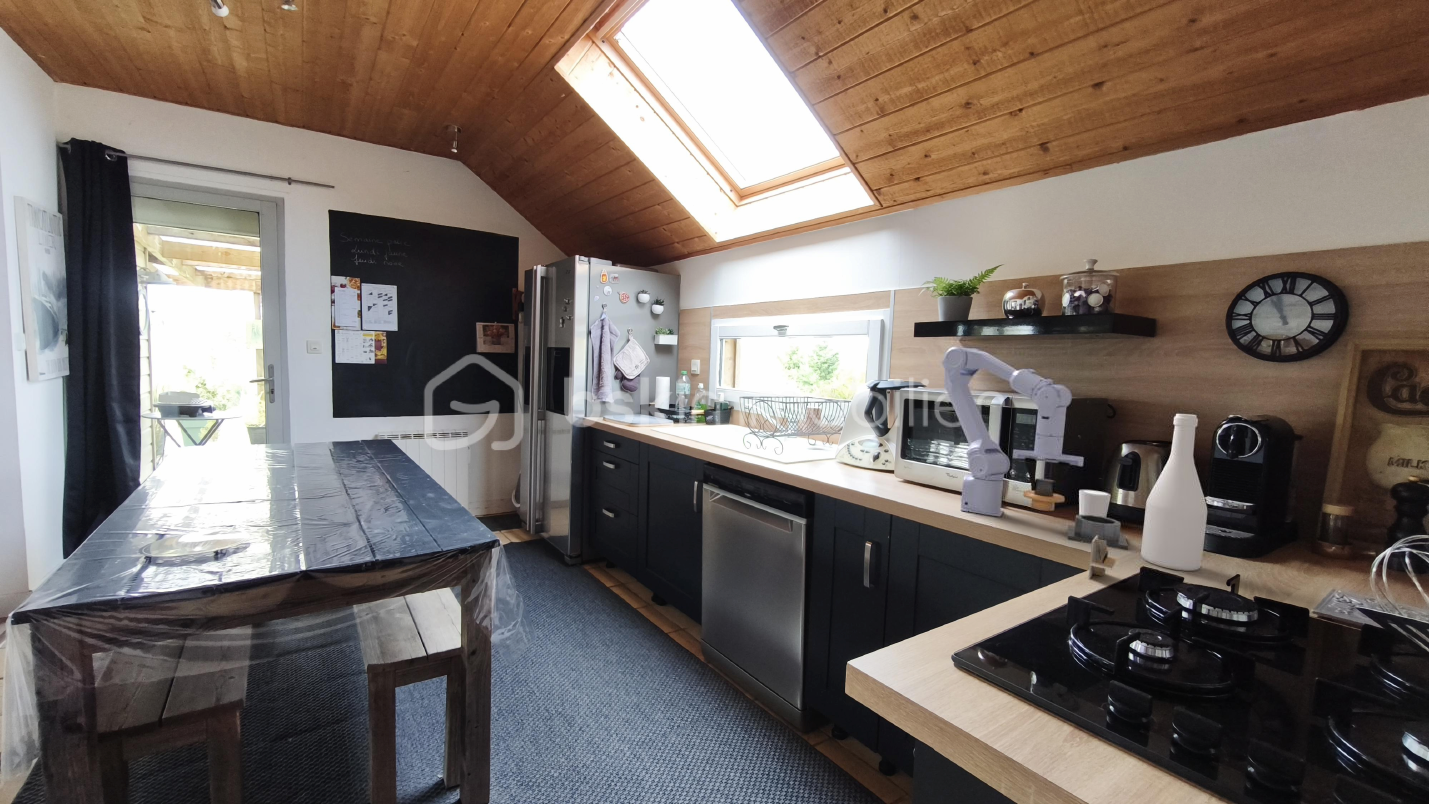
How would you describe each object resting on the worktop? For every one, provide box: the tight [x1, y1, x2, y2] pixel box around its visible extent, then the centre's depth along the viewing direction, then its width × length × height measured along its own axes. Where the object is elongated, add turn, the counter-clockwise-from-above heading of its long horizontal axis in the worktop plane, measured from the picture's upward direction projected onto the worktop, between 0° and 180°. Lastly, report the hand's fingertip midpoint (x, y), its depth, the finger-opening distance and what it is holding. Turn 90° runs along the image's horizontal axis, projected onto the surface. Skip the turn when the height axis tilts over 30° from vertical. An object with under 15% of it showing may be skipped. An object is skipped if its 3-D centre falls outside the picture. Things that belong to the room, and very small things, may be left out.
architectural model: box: [1087, 535, 1118, 580], centre depth 106 cm, size 3×7×7 cm, turn 139°
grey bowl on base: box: [1067, 514, 1129, 551], centre depth 132 cm, size 11×11×4 cm
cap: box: [1022, 478, 1065, 512], centre depth 140 cm, size 9×9×7 cm
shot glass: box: [1078, 489, 1111, 518], centre depth 150 cm, size 7×7×7 cm
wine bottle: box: [1140, 413, 1208, 572], centre depth 116 cm, size 10×10×30 cm
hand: (1043, 491), depth 140 cm, fingers closed on cap, 4 cm apart
